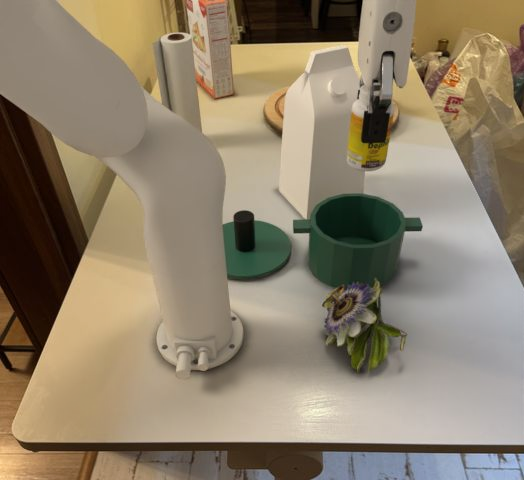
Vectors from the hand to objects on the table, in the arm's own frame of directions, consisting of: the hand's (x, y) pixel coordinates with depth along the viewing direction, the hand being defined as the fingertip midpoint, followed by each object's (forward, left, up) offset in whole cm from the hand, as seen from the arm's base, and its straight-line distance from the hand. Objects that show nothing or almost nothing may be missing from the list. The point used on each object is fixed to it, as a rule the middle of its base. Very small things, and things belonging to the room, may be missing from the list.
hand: (369, 129), depth 70 cm
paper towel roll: (+43, +32, -23) cm, 58 cm away
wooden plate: (+55, -1, -23) cm, 60 cm away
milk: (+20, +4, -23) cm, 31 cm away
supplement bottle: (0, 0, -5) cm, 5 cm away
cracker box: (+73, +28, -23) cm, 81 cm away
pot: (0, 0, -23) cm, 23 cm away
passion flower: (-18, +1, -23) cm, 29 cm away
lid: (+3, +18, -22) cm, 29 cm away
